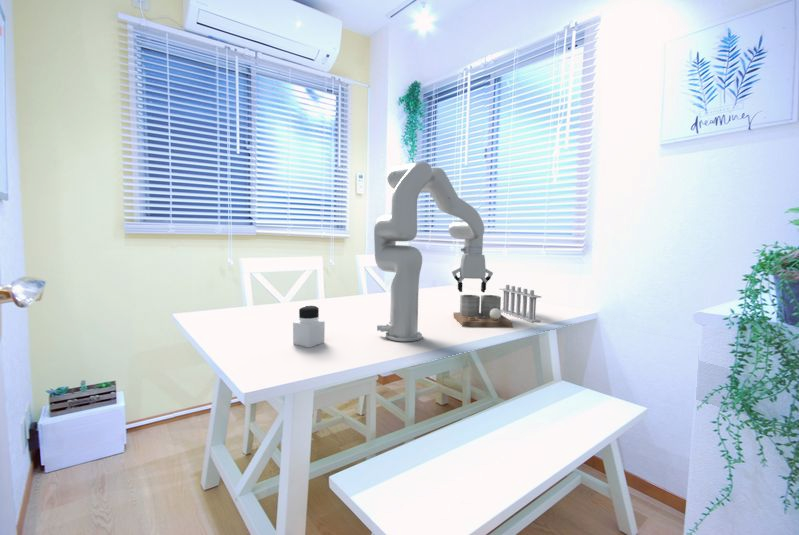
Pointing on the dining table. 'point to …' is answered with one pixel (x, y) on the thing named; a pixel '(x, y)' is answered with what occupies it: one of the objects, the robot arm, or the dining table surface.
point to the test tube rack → (531, 302)
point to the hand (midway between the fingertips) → (471, 291)
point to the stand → (475, 319)
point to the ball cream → (495, 313)
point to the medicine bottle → (308, 327)
